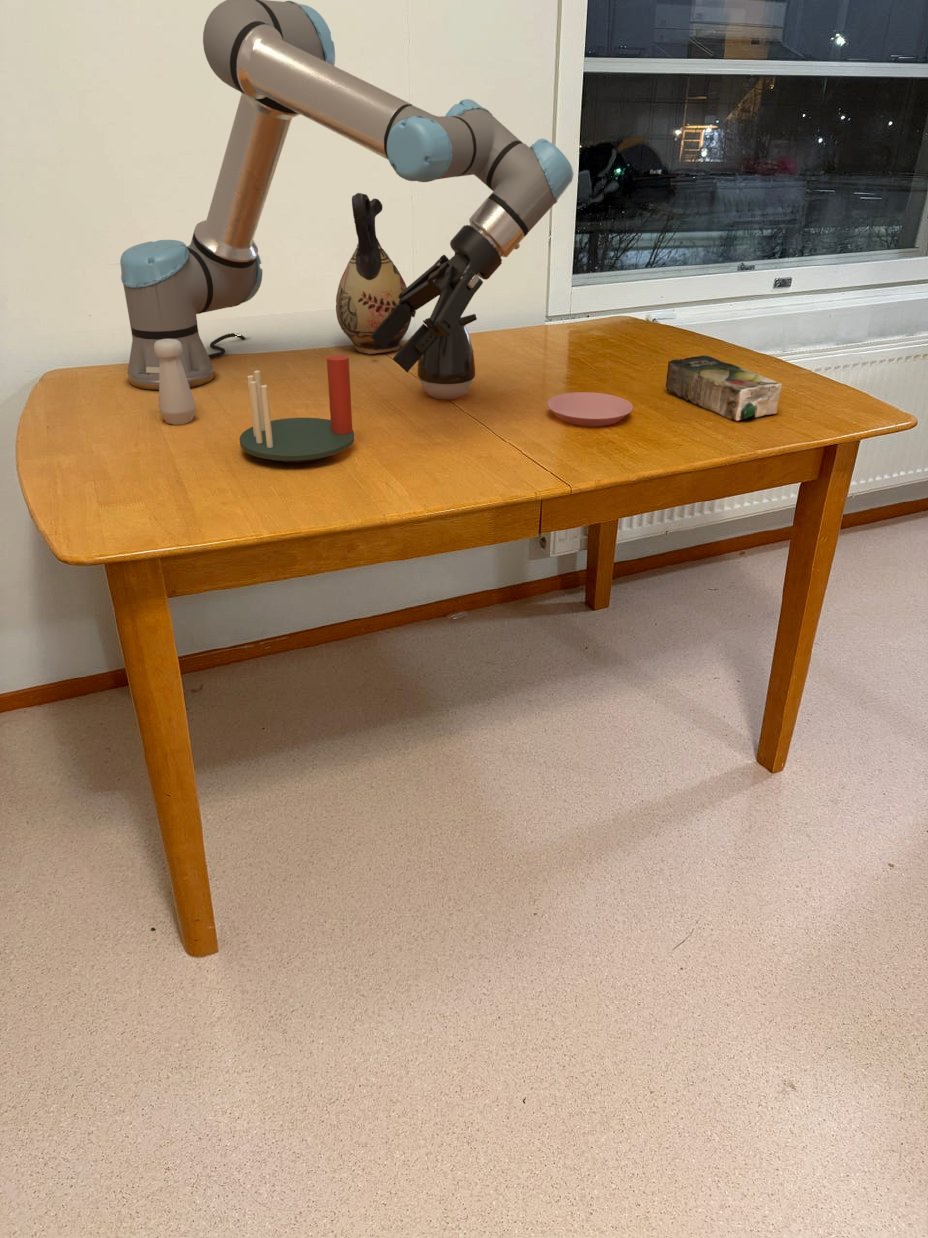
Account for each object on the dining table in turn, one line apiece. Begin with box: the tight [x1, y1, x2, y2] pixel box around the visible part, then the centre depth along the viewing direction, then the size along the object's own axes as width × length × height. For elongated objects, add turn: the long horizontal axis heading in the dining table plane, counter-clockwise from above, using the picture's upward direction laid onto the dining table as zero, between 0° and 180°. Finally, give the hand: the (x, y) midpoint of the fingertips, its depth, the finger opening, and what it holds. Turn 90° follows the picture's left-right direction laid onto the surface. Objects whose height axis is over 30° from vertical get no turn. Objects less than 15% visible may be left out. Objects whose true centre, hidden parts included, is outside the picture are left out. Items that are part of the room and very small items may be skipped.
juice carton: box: [665, 354, 783, 422], centre depth 160 cm, size 20×10×6 cm, turn 29°
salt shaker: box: [154, 339, 197, 426], centre depth 147 cm, size 6×6×13 cm
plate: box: [546, 391, 634, 427], centre depth 154 cm, size 14×14×2 cm
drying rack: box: [239, 354, 355, 462], centre depth 135 cm, size 17×17×13 cm
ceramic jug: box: [335, 192, 412, 355], centre depth 183 cm, size 17×15×30 cm
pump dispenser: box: [416, 313, 478, 401], centre depth 160 cm, size 10×10×15 cm
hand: (387, 353), depth 136 cm, fingers open, 13 cm apart
